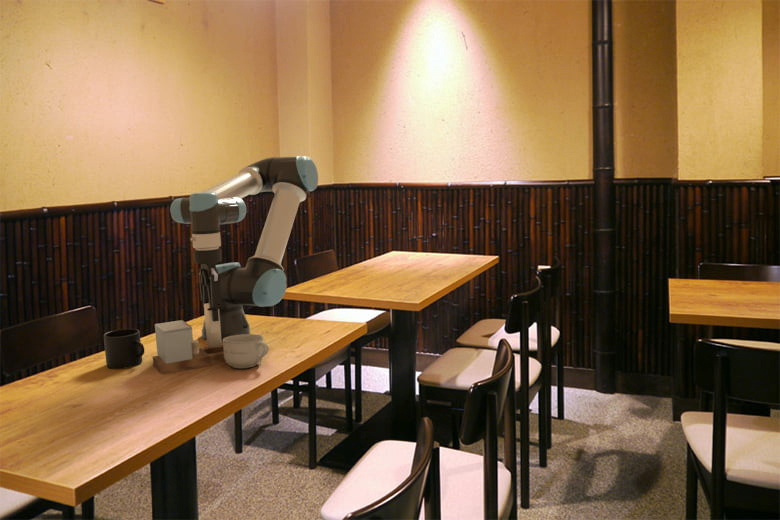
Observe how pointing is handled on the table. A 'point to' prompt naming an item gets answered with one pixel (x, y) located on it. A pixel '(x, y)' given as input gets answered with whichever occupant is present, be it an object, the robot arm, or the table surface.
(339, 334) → the table surface
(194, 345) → the wooden tray
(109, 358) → the mug
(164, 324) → the cover
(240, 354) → the teacup
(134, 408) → the table surface
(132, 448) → the table surface
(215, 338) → the pin
